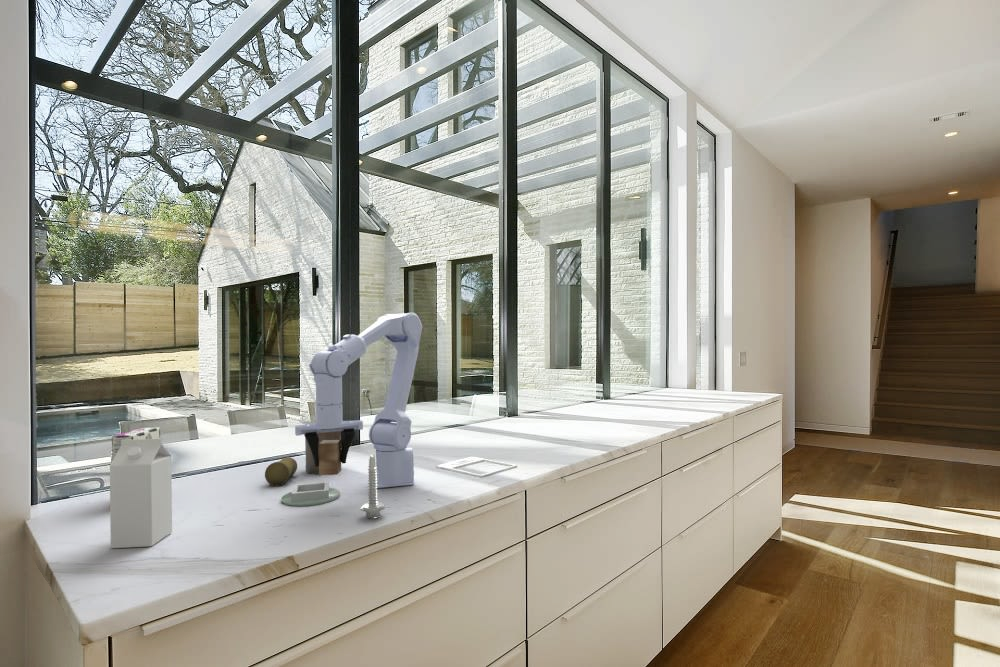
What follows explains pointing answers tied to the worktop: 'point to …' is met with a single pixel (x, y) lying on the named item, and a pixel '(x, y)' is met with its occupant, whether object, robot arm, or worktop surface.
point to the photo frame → (471, 461)
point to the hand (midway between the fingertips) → (330, 464)
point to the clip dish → (310, 494)
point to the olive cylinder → (280, 471)
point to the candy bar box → (134, 437)
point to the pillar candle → (322, 436)
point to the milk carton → (140, 494)
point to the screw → (372, 492)
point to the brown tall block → (329, 457)
